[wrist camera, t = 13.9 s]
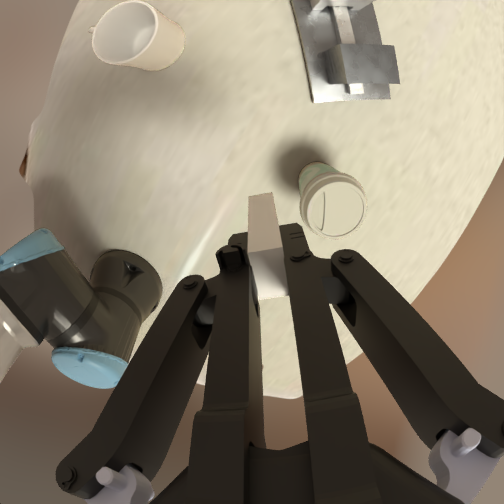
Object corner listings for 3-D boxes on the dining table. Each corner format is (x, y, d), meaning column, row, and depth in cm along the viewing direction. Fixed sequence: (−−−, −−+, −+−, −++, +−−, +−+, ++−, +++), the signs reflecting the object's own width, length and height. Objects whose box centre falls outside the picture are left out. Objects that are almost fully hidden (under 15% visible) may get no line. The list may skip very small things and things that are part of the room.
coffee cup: (308, 142, 38) (329, 162, 28) (352, 171, 41) (384, 200, 30) (278, 189, 42) (288, 224, 32) (323, 214, 45) (344, 254, 34)
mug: (105, 56, 30) (60, 52, 20) (130, 9, 26) (91, -10, 16) (168, 78, 33) (136, 75, 23) (196, 29, 29) (175, 7, 19)
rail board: (387, 98, 34) (418, 103, 26) (312, 102, 35) (329, 105, 27) (346, -60, 18) (365, -83, 10) (271, -62, 19) (275, -90, 11)
